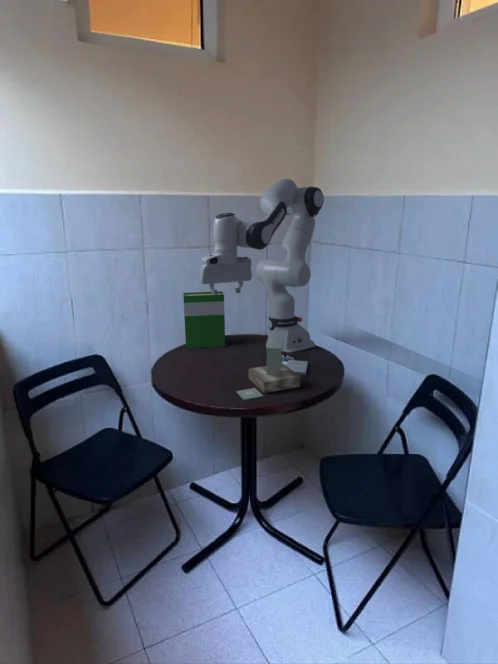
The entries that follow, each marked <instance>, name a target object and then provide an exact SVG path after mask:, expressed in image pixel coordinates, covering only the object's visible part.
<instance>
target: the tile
mask: <svg viewBox="0 0 498 664" xmlns="http://www.w3.org/2000/svg"><path fill="white" fill-rule="evenodd" d="M235 392H236V393H237V394H238V396H239V397H240V398H241V399H242V400H243V401H248V400H252V399H253V400H254V399H258V398H263V397H264V395H263V394H262V393H261V392H260V391H259V390H258V389H257V388H256V387H253V388H247V389H243V390H242V389H241V390H236V391H235Z"/></svg>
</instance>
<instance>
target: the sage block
mask: <svg viewBox="0 0 498 664" xmlns="http://www.w3.org/2000/svg"><path fill="white" fill-rule="evenodd" d="M282 353H283V351H282V344H268V345H267V347H266V365H265V366H266V375H281V364H282V357H283V356H282Z"/></svg>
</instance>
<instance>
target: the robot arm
mask: <svg viewBox="0 0 498 664" xmlns="http://www.w3.org/2000/svg"><path fill="white" fill-rule="evenodd" d="M324 196H325V195H324V193H323V192H322V190H321V188H319V187H316V186H307V187H298V186H297V184H296V183H295V181H294V180H292V179H291V178H282V179H280V180H279V181H276V182H275V183H273V184H272V185H271V186H270V187H269V188H268V189H266V190H265V192H263V194H262V195H261V197H260V199H259V205H260V206H259V207H260V209H261V211H262V213H263V214H264V215H265V216H266V217H265V218H264V219H263V220H261V221H243V220H241V219H239V218H237V217H236V214H235V213H232V212H223V213H219V214H217V215H216V216H215V217H214V219H213V220H214V221H213V228H212V229H213V230H212V231H213V242H214V247H213V252H212V253H209V254H207V255H205V256H202V258H201V263H202V264H201V265H200V267H199V281H200V283H201V284H202V285H208V286H209V288H210V289H211V292H212V294H213V295H217V292H218V290H217V289H215V284H227V283H238V286H237V287H235V293H236V294H240V293H241V291H242V290H241V289H242V287H243V285H244V282H250V281H251V280H252V278H253V273H252V259H251V258H250V257H248V256H238V248H247V249H248V248H249V249H254V250H258V251H259V250H260V251H262V250H264V249H265V248H267V247H268V246H269V244H270V242H271V240H272V237H273V236H274V234H275V233H276V231H277V229H279V228H280V225H281V224H282V222H283V221H284V220H285V218H286V216H289V215H293V217H292V221H291V223H290V225H289V227H288V229H287V230H286V233H285V235H284V237H283V240H282V242H281V250H282V252H283V253H284V254H285V255H286V257H285V259H280V258H278V259H277V258H266V259H262V260H260V261H259V262H258V263H257V265H256V267H255V276H256V277H257V279H258V280H259V282H261V284H262V285H263V287H264V289H265V291H266V293H267V296H268V301H269V302H268V306H269V307H268V309H269V310H268V311H269V315H268V319H267V320H268V323H267V325H268V334H267V335H268V336H267V340H266V344H265V347H266V348H267V345H268V344H282V352H285V353H295V352H299V351H304V350H307V349H310V348H311V349H312V348H315V347H316V343H315V342H314V341H313V340H311V336H310V333H309V331H308V330H307V329H306V328H304V327H303V326H302V325H301V324H299V323H301V322H302V321H303V318H302V317H301V316H297V315H295V309H296V307H295V306H296V304H295V303H296V302H295V298H294V296H292V294H291V293H289V292H288V290H287V289H286V288H287V287H292V288H296V287H297V288H298V287H305V286H306V285H307V284H308V283H309V282H310V280H311V275H312V271H311V269H310V267H309V265H308V264H307V262H306V259H305V257H306V253H307V249H308V247H309V245H310V243H311V240H312V237H313V234H314V231H315V227H316V219H315V217H316V216H317V215H319V213H320V211H321V209H322V208H323V205H324V199H325V198H324Z"/></svg>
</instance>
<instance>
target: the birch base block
mask: <svg viewBox="0 0 498 664" xmlns="http://www.w3.org/2000/svg"><path fill="white" fill-rule="evenodd" d="M286 365H287V364H284V363H282V362H281V375H266V365H264V366H263V365H262V366H257V367H251V368H248V380H249V381H251V383H253V385H255V386H256V387H257V388H258V389H259V390H260V391H261V392H262V393H263V394H266V393H267V394H268V393H273V392H274V393H275V392H278V391H283V390H289V389H296V388H300V387H301V375H298V374H297V373H295V372H294V371H293V370H291V369H290V368H288V367H287V366H286Z"/></svg>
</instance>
